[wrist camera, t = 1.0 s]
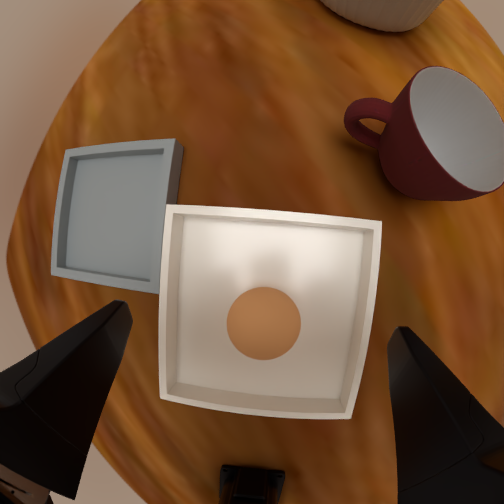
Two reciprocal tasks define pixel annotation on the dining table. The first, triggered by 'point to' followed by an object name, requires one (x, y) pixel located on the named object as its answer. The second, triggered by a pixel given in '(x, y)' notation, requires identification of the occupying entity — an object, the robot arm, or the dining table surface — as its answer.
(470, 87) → the mug
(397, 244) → the dining table surface
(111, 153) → the tray
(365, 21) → the canister
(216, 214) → the dish
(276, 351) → the ball
